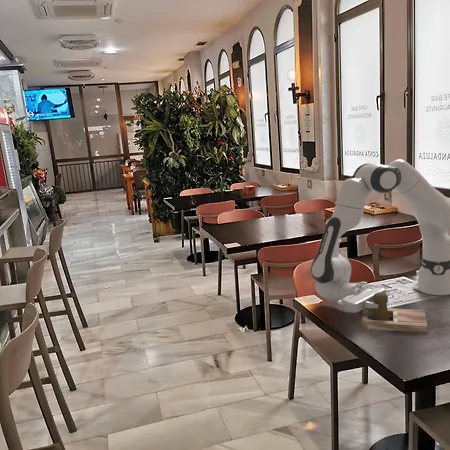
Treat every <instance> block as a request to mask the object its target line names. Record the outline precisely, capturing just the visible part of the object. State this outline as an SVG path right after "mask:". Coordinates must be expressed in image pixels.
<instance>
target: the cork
mask: <svg viewBox="0 0 450 450" xmlns="http://www.w3.org/2000/svg"><path fill="white" fill-rule="evenodd" d="M373 300H374V301H375V302H376V303H379V304H380V305H379V306H380V307H379V308H377V309H375V308H374V312H373V316H372V320H380V321H390V317H389V315H388V309H387V308H388V303H386V302H387V301H388V302H389V296H388V295H387V293H386V294H385V293H382V292H378V293H375V294H374V296H373Z"/></svg>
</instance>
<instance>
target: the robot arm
mask: <svg viewBox="0 0 450 450" xmlns="http://www.w3.org/2000/svg"><path fill="white" fill-rule="evenodd" d="M394 190H395V191H396V192H397V193H398V194H399V195H400V196H401V198H403V200H405V201H406V202H407V203H408V205H410V206H411V207H412V213H413V216H414V218H415V219H416V221H417V223H418V227H419V230H420V233H421V239H422V257H421V266H420V268H419V269H418V270H416V272H415V274H416V275H415V276H416V278H415V281H414V283H413V285H412V289H413V290H414V291H419V292H421V293H423V294H427V295H431V296H449V295H450V235H449V234H448V231H450V199H449V198H448V197H447V196H445V195H444V194H443V193H442V192H440V191H439V190H438V189H436V188H435V187H434V186H432V184H430V182H429V181H428V180H427V179H426V178H425V177H424V176H423V175H422V173H420V172H419V170H417V169H416V168H415V167H414V166H412V164H410V163H409V162H408V161H406V160H404V159H400V158H399V159H395V160H393V161H391V162H389V164H380V163H363V164H361V165H359V166H358V167H357V168H356V169H355V171H353V175H352V176H351V177H350V178H347V179H345V180H343V182H342V183H341V186H340V188H339V191H338V194H337V196H336V197H337V198H336V202H335V206H334V210H333V212H332V215H331V216H330V218H329V219H330V220H329V221H328V223H327V225H326V224H325V228H324V230H323V234H322V237H321V240H320V243H319V247H318V250H317V253H316V255H315V257H314V259H313V260H312V262H311V265H310V274H311V276H312V278H313V279H314V281H315V291H316V293H317V294H318V295H319V296H321V297H323V298H325V299H327V300H330V301H333V302H337V305H339V306H340V307H342V308H343V310H344V309H345V310H347V311H349V312H352V313H359V312H360V311H363V309H364V308H375V309H377V308H379V307H380V306H379V305H380V304H379V303H376V302H375V301H374V300H373V296H374V294H375V293H378V292H382V293H385V294H387V290H386V288H384V287H383V286H382V287H381V286H379V285H376V284H371V283H370V284H369V283H368V282H367V281H360V282H359V281H358V282H350V280H351V276H352V271H353V269H352V264H351V262H350V261H349V259H348V258H346V257H345V256H343V257H333V255H334V251H335V248H336V245H337V242H338V240H339V239H340V238H341V237H342V236H343V235H344V234H345V233H347V232H349V231H350V230H352V229H354V228H356V227H357V226H359V224H360V223H361V221H362V218H363V216H364V211H365V205H366V200H367V198H368V196H369V195H370V194H371V193H380V194H387V193H390V192H392V191H394ZM386 303H387V304H388V303H389V300H388V301H387V302H386Z"/></svg>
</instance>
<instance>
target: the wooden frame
mask: <svg viewBox="0 0 450 450" xmlns="http://www.w3.org/2000/svg"><path fill="white" fill-rule="evenodd" d="M387 309H388V315H389V318H392V320H389V321H380V320H373V319H369V317H373V312H374V308H364V309H363V310H362V314H361V329H362V330H363V329H364V330H374V331H375V330H376V331H377V330H378V331H392V332H404V333H405V332H408V333H422V334H424V333H425V334H427V333H428V324H427V323H428V322H427V318H426V312H425V309H414V308H413V309H412V308H409V309H408V308H392V307H390V308H389V307H387Z"/></svg>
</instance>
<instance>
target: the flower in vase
mask: <svg viewBox="0 0 450 450" xmlns="http://www.w3.org/2000/svg"><path fill="white" fill-rule="evenodd" d="M330 219H331V218H327V219H326V220H325V223H324V224H325V226H326V225H327V223H328V221H329V220H330ZM341 242H342V239H340V238H339V240H338V242H337V245H336V248H335V251H334V255H333V257H344V256H343V255H341V253H340V243H341Z"/></svg>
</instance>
